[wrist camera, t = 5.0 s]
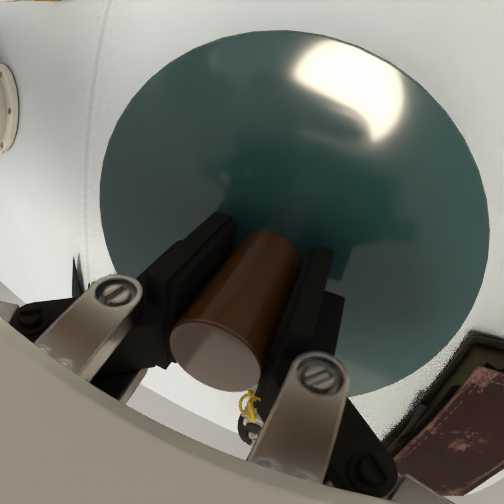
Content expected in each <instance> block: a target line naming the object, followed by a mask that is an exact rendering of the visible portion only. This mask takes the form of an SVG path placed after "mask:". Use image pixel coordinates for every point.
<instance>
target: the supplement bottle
mask: <svg viewBox="0 0 504 504" xmlns="http://www.w3.org/2000/svg"><path fill="white" fill-rule="evenodd" d="M3 1H6V2H13V1H64V0H3Z"/></svg>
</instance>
